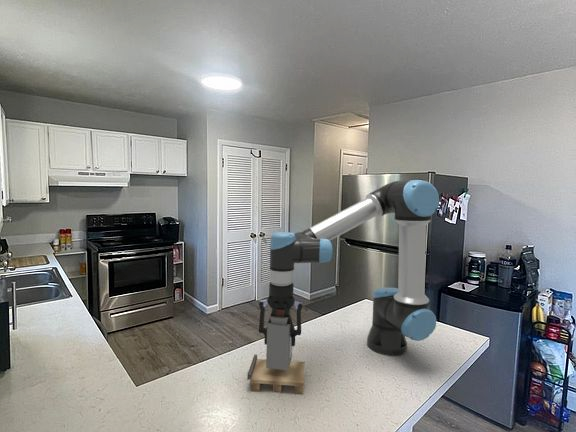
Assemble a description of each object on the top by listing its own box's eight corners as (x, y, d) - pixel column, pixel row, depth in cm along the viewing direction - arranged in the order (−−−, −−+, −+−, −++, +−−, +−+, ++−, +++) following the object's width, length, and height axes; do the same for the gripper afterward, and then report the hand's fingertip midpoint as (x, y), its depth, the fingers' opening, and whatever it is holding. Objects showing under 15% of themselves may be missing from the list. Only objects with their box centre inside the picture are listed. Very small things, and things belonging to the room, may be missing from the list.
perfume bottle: (287, 370, 97) (289, 312, 96) (266, 367, 99) (267, 310, 97) (291, 359, 104) (293, 305, 103) (271, 356, 105) (272, 303, 104)
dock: (304, 371, 107) (305, 357, 107) (303, 394, 95) (304, 378, 95) (254, 368, 108) (254, 354, 108) (247, 390, 96) (247, 374, 96)
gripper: (311, 280, 103) (309, 350, 104) (253, 277, 104) (252, 347, 106) (312, 287, 95) (309, 362, 97) (249, 284, 96) (247, 359, 98)
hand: (279, 354), depth 101 cm, fingers closed on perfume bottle, 6 cm apart
